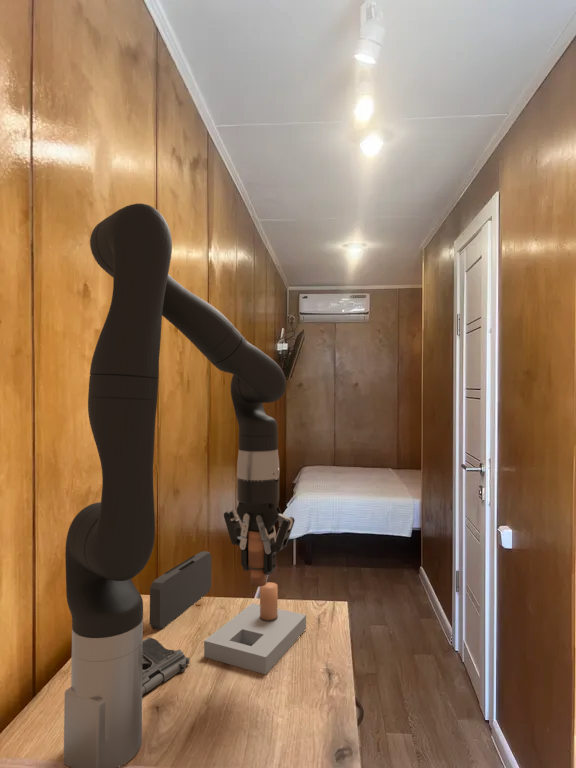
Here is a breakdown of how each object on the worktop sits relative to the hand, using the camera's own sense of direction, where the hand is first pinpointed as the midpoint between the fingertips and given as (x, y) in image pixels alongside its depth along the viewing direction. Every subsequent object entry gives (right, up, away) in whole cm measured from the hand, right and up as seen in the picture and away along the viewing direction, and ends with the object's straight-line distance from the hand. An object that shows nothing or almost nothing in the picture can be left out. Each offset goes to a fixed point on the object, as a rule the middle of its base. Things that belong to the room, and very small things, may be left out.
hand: (258, 570), depth 85 cm
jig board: (-1, -18, +9) cm, 20 cm away
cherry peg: (0, -2, 0) cm, 2 cm away
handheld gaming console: (-19, -18, +24) cm, 36 cm away
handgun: (-21, -18, -3) cm, 28 cm away
